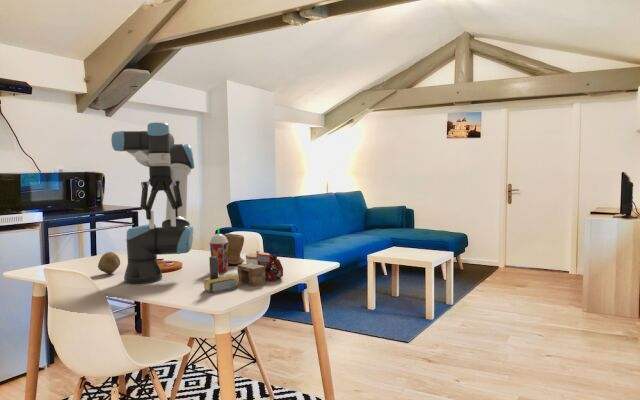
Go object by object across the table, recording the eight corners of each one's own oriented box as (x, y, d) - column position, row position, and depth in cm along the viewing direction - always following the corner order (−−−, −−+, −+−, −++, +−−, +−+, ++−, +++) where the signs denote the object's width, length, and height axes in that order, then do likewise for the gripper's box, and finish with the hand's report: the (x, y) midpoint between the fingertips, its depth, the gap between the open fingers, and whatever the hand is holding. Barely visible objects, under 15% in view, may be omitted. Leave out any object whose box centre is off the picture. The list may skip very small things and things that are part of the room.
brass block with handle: (204, 288, 175) (203, 257, 174) (234, 282, 184) (233, 253, 183) (208, 289, 172) (207, 259, 172) (238, 283, 181) (237, 254, 180)
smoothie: (233, 271, 210) (231, 227, 209) (217, 274, 204) (215, 229, 203) (222, 268, 216) (220, 226, 215) (207, 272, 210) (205, 228, 209)
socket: (238, 282, 189) (237, 265, 189) (250, 279, 193) (249, 262, 193) (252, 286, 181) (252, 268, 181) (265, 283, 185) (265, 266, 185)
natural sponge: (124, 273, 211) (123, 251, 211) (104, 277, 205) (103, 254, 204) (115, 270, 217) (114, 249, 217) (96, 274, 211) (95, 252, 210)
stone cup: (250, 262, 230) (249, 232, 229) (234, 267, 220) (233, 235, 219) (226, 260, 237) (225, 231, 236) (210, 264, 227) (209, 234, 226)
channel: (204, 290, 177) (204, 281, 177) (227, 285, 184) (227, 276, 183) (213, 293, 172) (212, 284, 172) (236, 288, 179) (236, 279, 179)
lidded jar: (266, 274, 202) (265, 253, 201) (242, 274, 204) (242, 252, 204) (273, 269, 213) (272, 249, 212) (251, 268, 215) (250, 248, 214)
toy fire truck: (277, 282, 187) (276, 257, 186) (252, 279, 193) (252, 255, 193) (286, 278, 193) (286, 254, 192) (262, 276, 199) (262, 252, 199)
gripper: (135, 165, 160) (138, 231, 162) (190, 164, 174) (193, 225, 175) (127, 165, 166) (131, 229, 167) (181, 165, 179) (184, 224, 181)
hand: (162, 227), depth 171 cm, fingers open, 8 cm apart
